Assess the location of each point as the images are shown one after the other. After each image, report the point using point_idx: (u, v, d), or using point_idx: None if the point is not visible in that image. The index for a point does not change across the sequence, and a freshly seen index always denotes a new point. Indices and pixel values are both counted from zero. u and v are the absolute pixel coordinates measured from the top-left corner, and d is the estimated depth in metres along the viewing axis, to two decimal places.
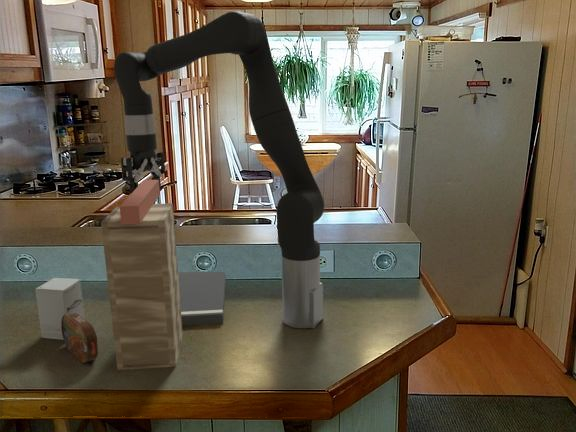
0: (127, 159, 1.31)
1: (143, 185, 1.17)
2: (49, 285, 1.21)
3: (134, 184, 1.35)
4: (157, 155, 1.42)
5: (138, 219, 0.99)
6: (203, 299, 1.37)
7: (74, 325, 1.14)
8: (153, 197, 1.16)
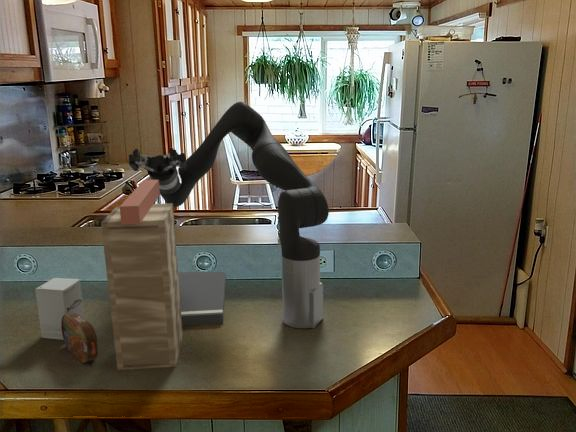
0: None
1: (143, 185, 1.17)
2: (49, 285, 1.21)
3: None
4: None
5: (138, 219, 0.99)
6: (203, 299, 1.37)
7: (74, 325, 1.14)
8: (153, 197, 1.16)
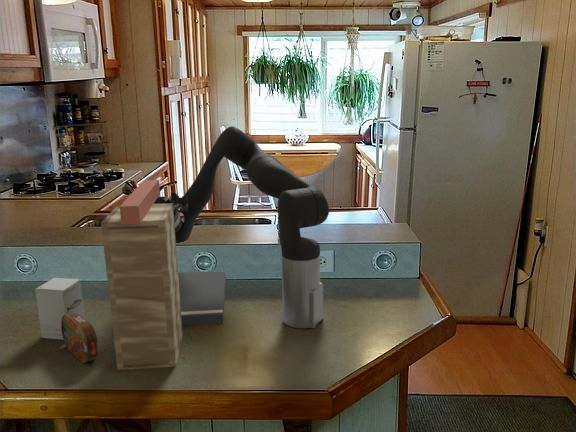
0: None
1: (143, 185, 1.17)
2: (49, 285, 1.21)
3: None
4: None
5: (138, 219, 0.99)
6: (203, 299, 1.37)
7: (74, 325, 1.14)
8: (153, 197, 1.16)
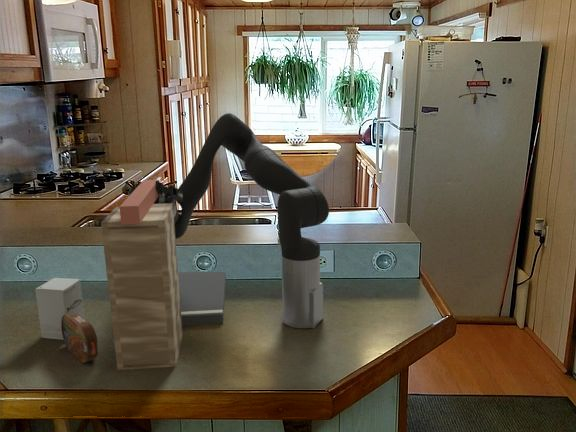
0: None
1: (143, 185, 1.17)
2: (49, 285, 1.21)
3: None
4: None
5: (138, 219, 0.99)
6: (203, 299, 1.37)
7: (74, 325, 1.14)
8: (153, 197, 1.15)
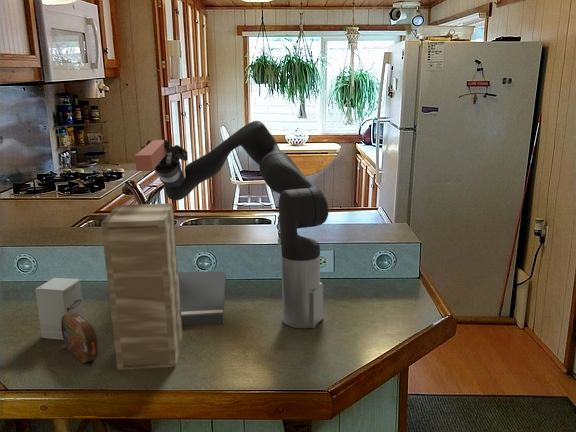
0: None
1: (153, 143, 1.33)
2: (49, 285, 1.21)
3: None
4: None
5: (151, 167, 1.15)
6: (203, 299, 1.37)
7: (74, 325, 1.14)
8: (162, 153, 1.31)
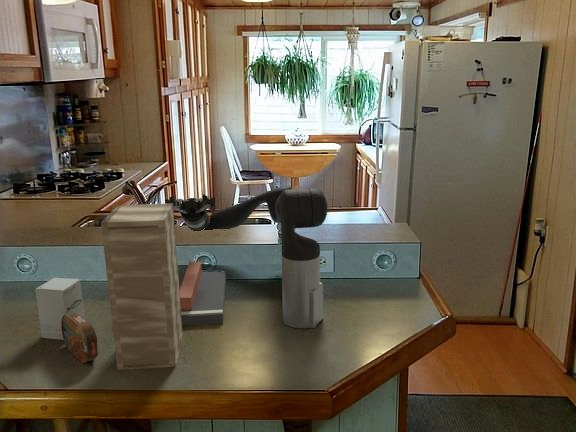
0: None
1: (190, 269, 1.49)
2: (49, 285, 1.21)
3: None
4: None
5: (191, 307, 1.30)
6: (203, 299, 1.37)
7: (74, 325, 1.14)
8: (198, 280, 1.47)
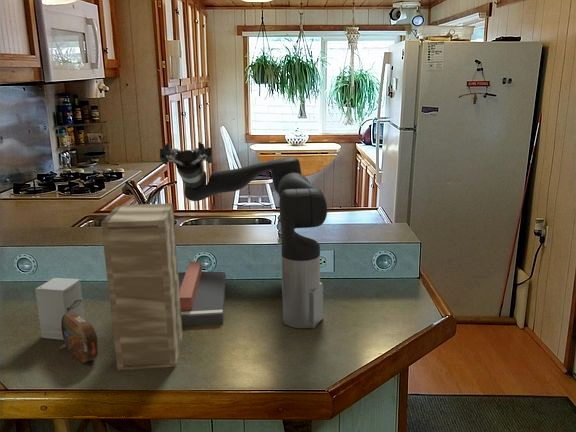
0: None
1: (190, 269, 1.49)
2: (49, 285, 1.21)
3: None
4: None
5: (191, 307, 1.30)
6: (203, 299, 1.37)
7: (74, 325, 1.14)
8: (198, 280, 1.47)
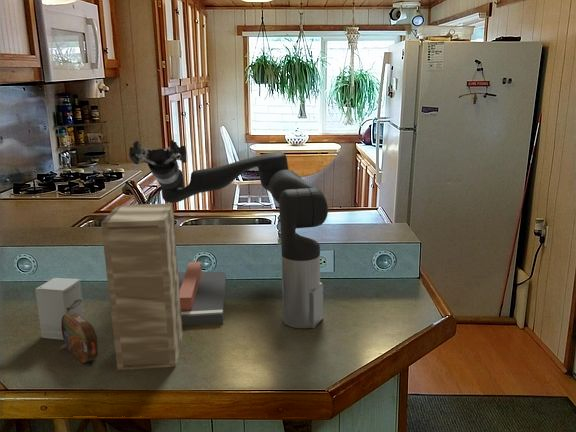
0: None
1: (190, 269, 1.49)
2: (49, 285, 1.21)
3: None
4: None
5: (191, 307, 1.30)
6: (203, 299, 1.37)
7: (74, 325, 1.14)
8: (198, 280, 1.47)
